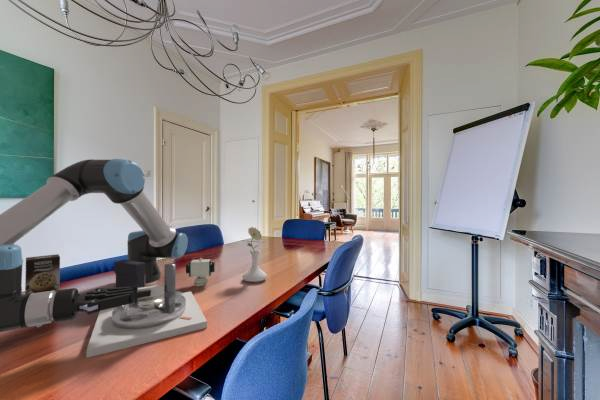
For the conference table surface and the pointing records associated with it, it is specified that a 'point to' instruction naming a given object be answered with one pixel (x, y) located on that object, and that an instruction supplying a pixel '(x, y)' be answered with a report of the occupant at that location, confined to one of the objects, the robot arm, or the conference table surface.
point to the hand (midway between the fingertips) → (163, 289)
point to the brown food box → (42, 274)
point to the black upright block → (129, 273)
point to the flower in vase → (254, 260)
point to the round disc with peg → (152, 306)
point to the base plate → (143, 329)
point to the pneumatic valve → (200, 270)
